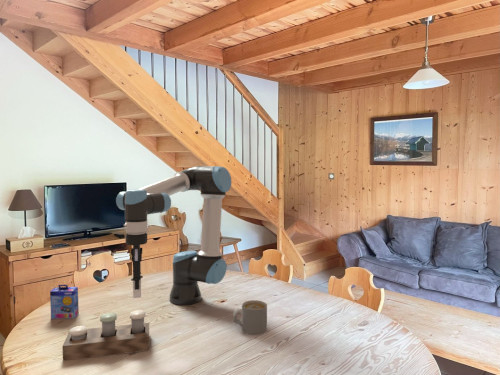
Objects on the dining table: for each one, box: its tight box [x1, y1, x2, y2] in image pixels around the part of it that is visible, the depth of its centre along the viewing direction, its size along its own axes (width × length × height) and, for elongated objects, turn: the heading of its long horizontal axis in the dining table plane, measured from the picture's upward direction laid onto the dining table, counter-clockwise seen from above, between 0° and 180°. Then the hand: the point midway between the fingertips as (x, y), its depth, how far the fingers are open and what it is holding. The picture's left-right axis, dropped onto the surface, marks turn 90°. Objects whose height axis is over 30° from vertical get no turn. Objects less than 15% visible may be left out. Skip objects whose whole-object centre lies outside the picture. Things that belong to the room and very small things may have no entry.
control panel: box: [61, 322, 150, 361], centre depth 136 cm, size 28×12×5 cm, turn 105°
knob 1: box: [69, 325, 88, 341], centre depth 133 cm, size 6×6×7 cm
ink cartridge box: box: [49, 284, 80, 320], centre depth 162 cm, size 10×6×14 cm, turn 95°
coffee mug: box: [232, 299, 268, 336], centre depth 151 cm, size 13×10×10 cm
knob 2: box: [129, 309, 147, 334], centre depth 138 cm, size 6×6×7 cm
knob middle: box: [99, 312, 118, 337], centre depth 136 cm, size 6×6×7 cm
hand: (137, 296), depth 137 cm, fingers closed
